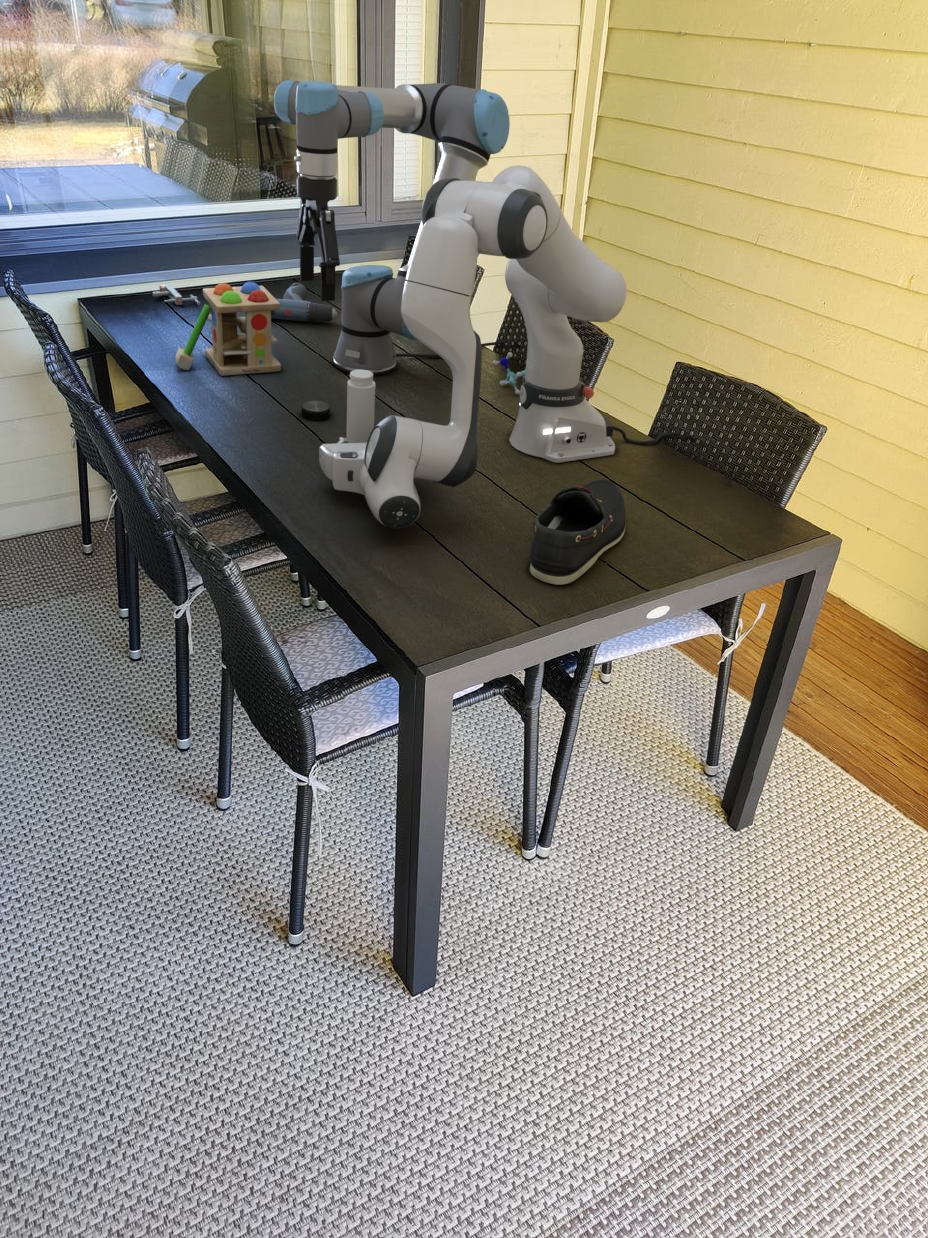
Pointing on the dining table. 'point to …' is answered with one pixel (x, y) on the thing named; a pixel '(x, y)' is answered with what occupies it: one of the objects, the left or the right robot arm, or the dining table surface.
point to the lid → (315, 410)
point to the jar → (360, 406)
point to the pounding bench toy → (229, 347)
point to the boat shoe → (576, 531)
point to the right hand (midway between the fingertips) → (367, 440)
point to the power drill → (301, 307)
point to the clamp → (173, 295)
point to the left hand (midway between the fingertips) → (317, 289)
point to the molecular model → (509, 373)
